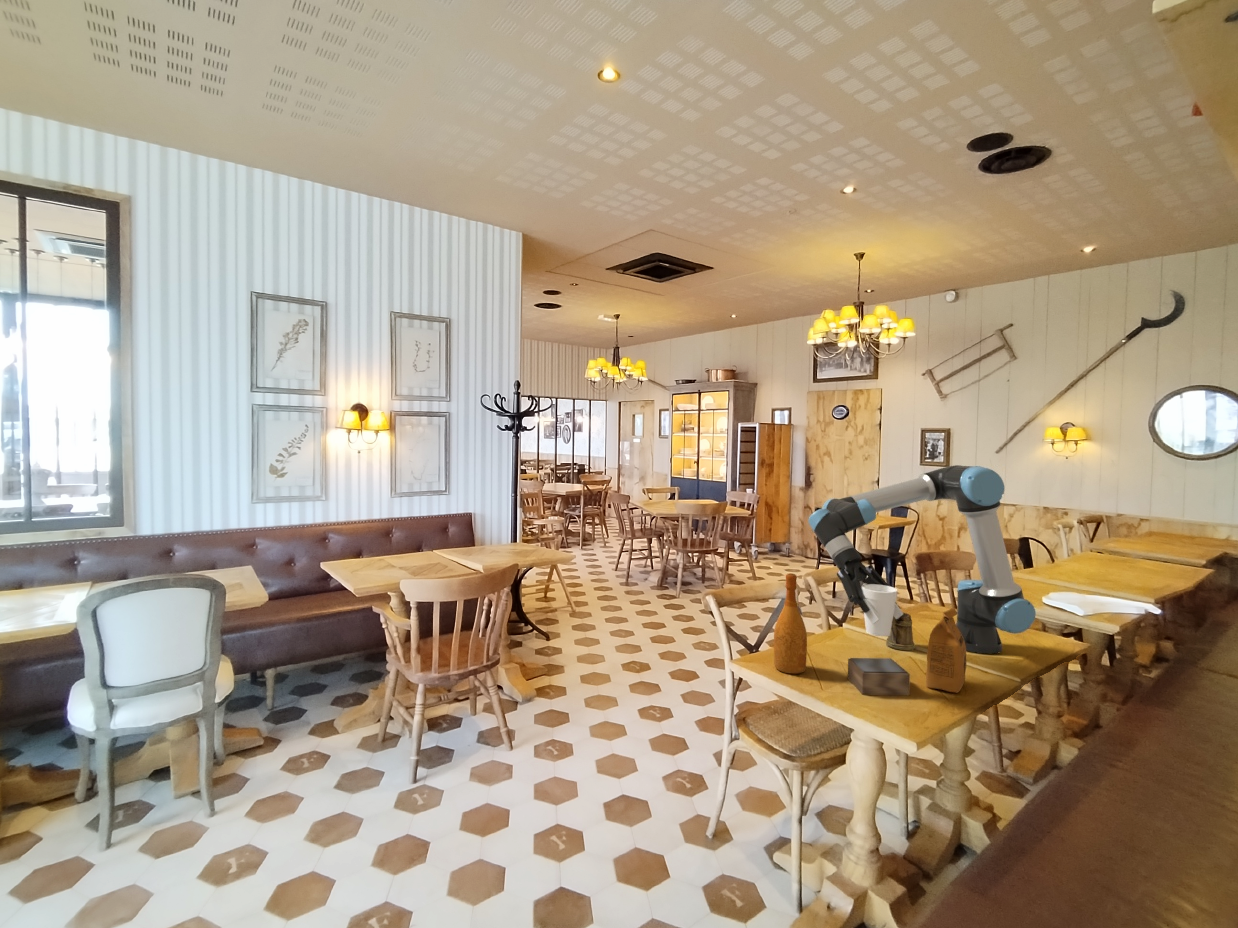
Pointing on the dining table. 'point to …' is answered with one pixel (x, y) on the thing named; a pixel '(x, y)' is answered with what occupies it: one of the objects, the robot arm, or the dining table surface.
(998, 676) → the dining table surface
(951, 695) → the dining table surface
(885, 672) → the walnut stand
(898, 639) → the wooden mug
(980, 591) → the robot arm
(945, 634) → the coffee package
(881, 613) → the foam cup
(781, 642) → the wine bottle
